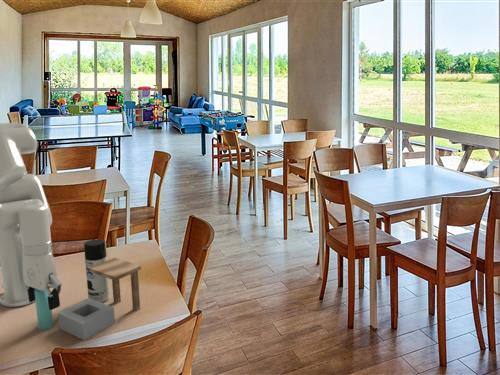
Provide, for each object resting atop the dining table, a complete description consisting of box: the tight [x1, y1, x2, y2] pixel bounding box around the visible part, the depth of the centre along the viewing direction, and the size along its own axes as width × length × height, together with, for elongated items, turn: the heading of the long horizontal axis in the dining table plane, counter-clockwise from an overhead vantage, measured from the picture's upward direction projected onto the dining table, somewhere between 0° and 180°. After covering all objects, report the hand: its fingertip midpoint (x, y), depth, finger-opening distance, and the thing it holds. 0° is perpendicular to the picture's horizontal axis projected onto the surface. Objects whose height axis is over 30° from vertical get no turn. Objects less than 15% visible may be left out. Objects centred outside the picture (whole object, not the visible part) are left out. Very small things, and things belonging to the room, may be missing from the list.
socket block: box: [57, 298, 116, 341], centre depth 133 cm, size 11×11×5 cm
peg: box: [34, 289, 54, 331], centre depth 132 cm, size 4×4×12 cm
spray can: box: [83, 238, 110, 304], centre depth 148 cm, size 7×7×20 cm
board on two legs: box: [89, 257, 142, 311], centre depth 141 cm, size 12×10×15 cm
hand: (44, 304), depth 131 cm, fingers open, 9 cm apart
